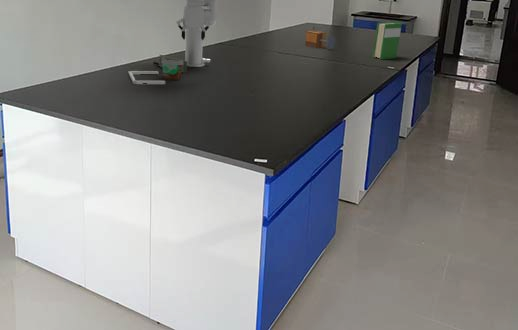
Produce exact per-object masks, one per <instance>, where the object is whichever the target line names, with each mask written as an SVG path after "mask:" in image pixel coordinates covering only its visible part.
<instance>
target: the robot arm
mask: <svg viewBox="0 0 518 330" xmlns="http://www.w3.org/2000/svg"><path fill="white" fill-rule="evenodd" d="M217 7H218V0H186V5H185V6H184V8H183V16H182V18H180V19H179V20H177V21H176V26H177V27H178V28H179V29H180V30H181V38H182V39H183V40H185V55H184V58H185V59H184V60H185V61H187V67H189V68H202V67H204V66H205V63H211V59H210V58H204V57H203V43H204V40H205V39H206V32H207V30H209V29H210V28H213V27H215V26H216V23H217V15H218V14H217V12H218V11H217V10H218V8H217ZM206 8H207V9H206ZM181 23H182V26H181Z"/></svg>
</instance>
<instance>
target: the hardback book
mask: <svg viewBox="0 0 518 330" xmlns="http://www.w3.org/2000/svg"><path fill="white" fill-rule="evenodd" d="M376 24H377V25H376V30H375V38H374V43H373V50H372V56H371V57H372V58H373V59H375V58H376V57H377V59H379V60H380V59H382V60H390V59H397V56H398V50H399V49H398V48H399V42H400V37H401V30H402V25H403V23H400V22H393V21H387V22H385V21H384V22H377V23H376Z"/></svg>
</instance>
